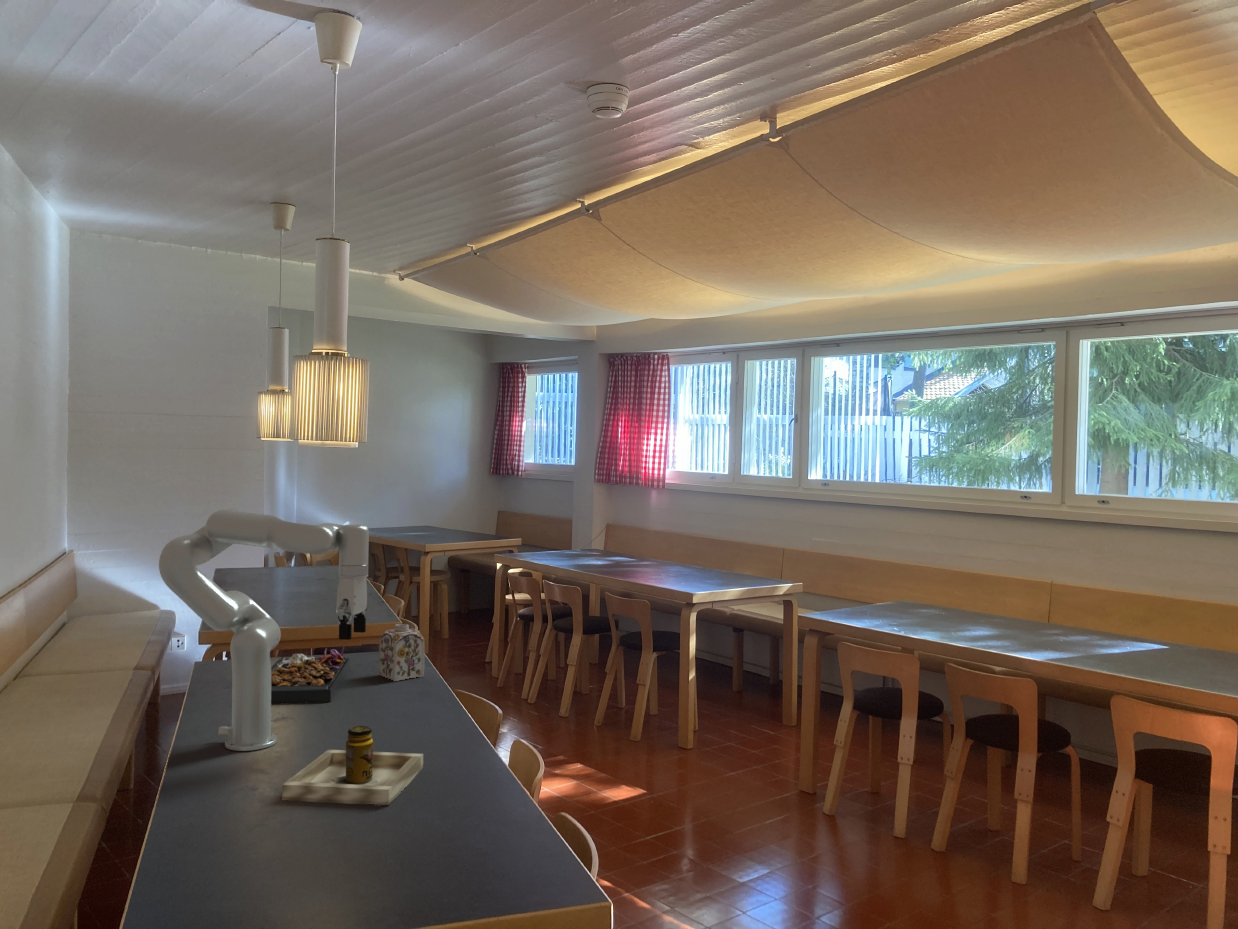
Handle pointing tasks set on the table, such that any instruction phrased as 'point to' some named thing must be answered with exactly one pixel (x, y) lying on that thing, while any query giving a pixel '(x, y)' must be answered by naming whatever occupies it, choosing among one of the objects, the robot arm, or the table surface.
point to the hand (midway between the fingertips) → (352, 635)
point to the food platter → (308, 678)
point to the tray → (321, 787)
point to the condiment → (358, 757)
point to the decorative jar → (401, 653)
